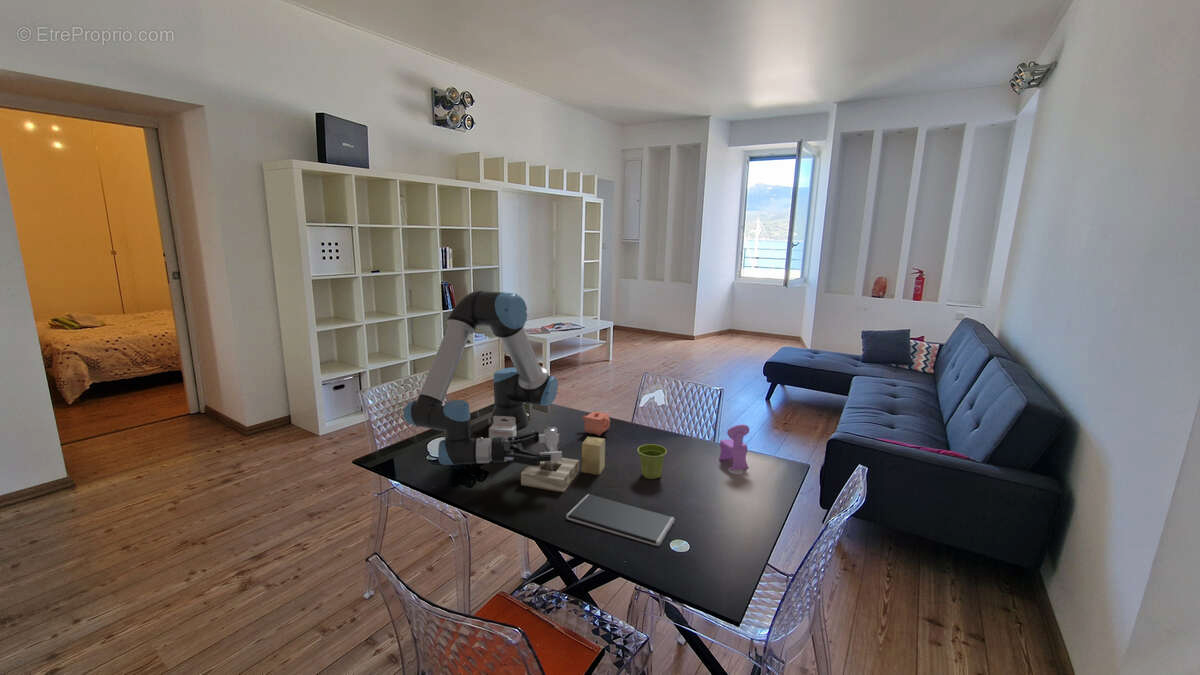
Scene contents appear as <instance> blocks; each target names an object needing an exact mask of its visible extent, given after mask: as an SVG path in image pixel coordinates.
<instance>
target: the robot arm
mask: <svg viewBox="0 0 1200 675" xmlns="http://www.w3.org/2000/svg"><path fill="white" fill-rule="evenodd" d="M527 311H528V308H527V304H526V302H525V299H524V298H522V296H520V295H519V294H517V293H514V292H509V291H504V292H501V291H483V290H477V291H472V292H469V293H468V294H467V295H465V296H464V297H462V298H461V299H460V300H459V301H458V302H457V303H456V305H455V306H454V307H453V309H452V310H451V311H450V313H449V315H448V317H447V320H446V321H445V322H446V325H447V328H446V330H445V333H444V335H443V337H442V340H441V343H440V344H439V347H438V350H437V352H436V354H435V356H434V358H433V361H432V364H431V366H430V368H429V371H428V373H427V376H426V378H425V380H424V383H423V385H422V387H421V390H420V392H419V395H418V396H417V399H416V400H410V401H409V402H408V403H407V404H406V405H405V406H404V409H403V420H404V421H405V423H407V424H408V425H412V426H415V427H417V428H426V429H432V430H435V431H436V430H437V431H440V432H444V435H445V436H444V439H442V440H440V441H439V443H438V448H437V450H438V452H437V458H438V462H439V463H440V464H441V465H443V466H444V465H447V466H448V465H449V466H451V465H453V466H458V465H470V464H489V463H491V462H492V463H505V462H504V460H505V457H506V458H507V462H506V463H516V464H522V465H526V466H527V465H533V466H538V465H540V462H546V461H562V458H563V451H562V450H560V451H558V450H557V451H556V452H544V451H540V452H539V453H538V452H534V451H530V450H526V449H525V448H527V447H529V446H532V445H534V444H536V443H538V444H544V434H539V431H534V432H528V433H524V434H520V435H516V436H515V437H508V442H505V440H504V438H503V437H496V438H492V440H491V439H490V438H489V437H485V438H484V437H482V436H481V437H479V438H472V432H471V431H472V430H471V429H472V427H471V418H472V417H471V416H472V414H471V412H470V404H469V402H467V401H466V400H463V399H458V400H457V399H453V400H448V401H446V402H445V403H444V405H442V404H443V402H444V400H445V397H446V395H447V392H448V390H449V387H450V384H451V383H452V379H453V377H454V375H455V373H456V370H457V368H458V364H459V362H460V360H461V357H462V355H463V352H464V350H465V348H466V346H467V343H468V340H469V338H470V336H471V335H474V333H475V332H476V328H477V327H479V326H484V327H489V328H490V329H491V332H492V334H493V336H495V337H496V338H500V340H501V342H502V344H503V345H504V346H503V347H504V348H505V349H506V351H507V354H508V356H509V357H510V359H511V361H512V365H513V366H514V367H513V366H512V367H505V368H501V369H499V370H497V371H496V370H495V372H494V373H493V381H492V382H493V400H494V401H493V402H494V407H493V410H492V413H491V417H490V427H491V426H492V425H493V416H505V417H515V418H516V431H517V430H521V429H524V428H525V427H526V426H527V425H528V424H529V416H528V413H527V412H526V408H525V406H524V404H531V405H536V406H541V407H542V406H546V407H547V406H550V405H553V403H554V402H555V399H556V397H557V394H558V389H559V381H558V378H557V377H556V376H553V375H549V373H548V371H547V369H546V368H545V367H543V366H541V364H540V362H539V361H538V358H537V356H536V353H535V351H534V349H533V347H532V344H531V342H530V340H529V338H528V336H527V333H526V331H525V328H524V327H525V324H526V322H527V320H528V319H527V318H528V312H527ZM500 421H508V420H505V419H501V420H500ZM557 443H560V433H557Z"/></svg>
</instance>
